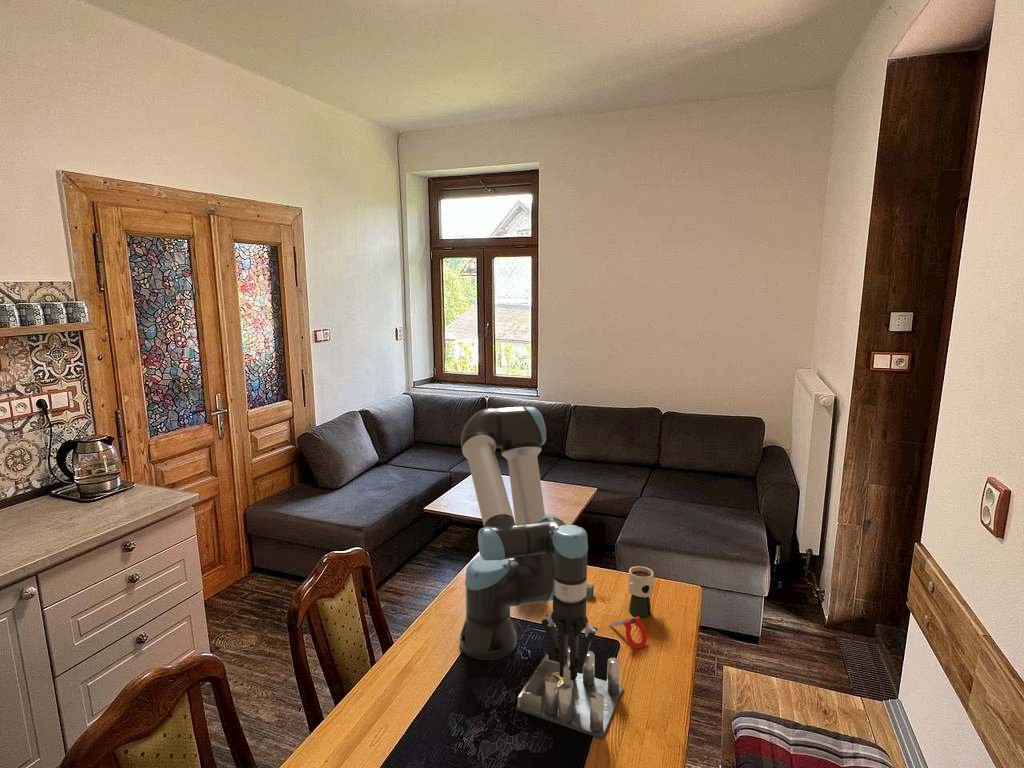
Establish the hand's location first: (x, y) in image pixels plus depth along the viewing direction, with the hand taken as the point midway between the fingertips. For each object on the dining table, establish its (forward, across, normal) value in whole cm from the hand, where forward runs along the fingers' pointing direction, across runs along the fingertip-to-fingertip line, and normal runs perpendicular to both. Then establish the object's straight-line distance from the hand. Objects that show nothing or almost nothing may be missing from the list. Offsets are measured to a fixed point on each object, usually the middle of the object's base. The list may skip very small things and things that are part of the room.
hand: (568, 690), depth 129 cm
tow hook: (+4, +8, +28) cm, 29 cm away
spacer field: (+2, +1, 0) cm, 2 cm away
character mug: (+2, +7, +43) cm, 43 cm away
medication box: (+3, -14, +44) cm, 46 cm away
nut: (+1, -3, 0) cm, 3 cm away
